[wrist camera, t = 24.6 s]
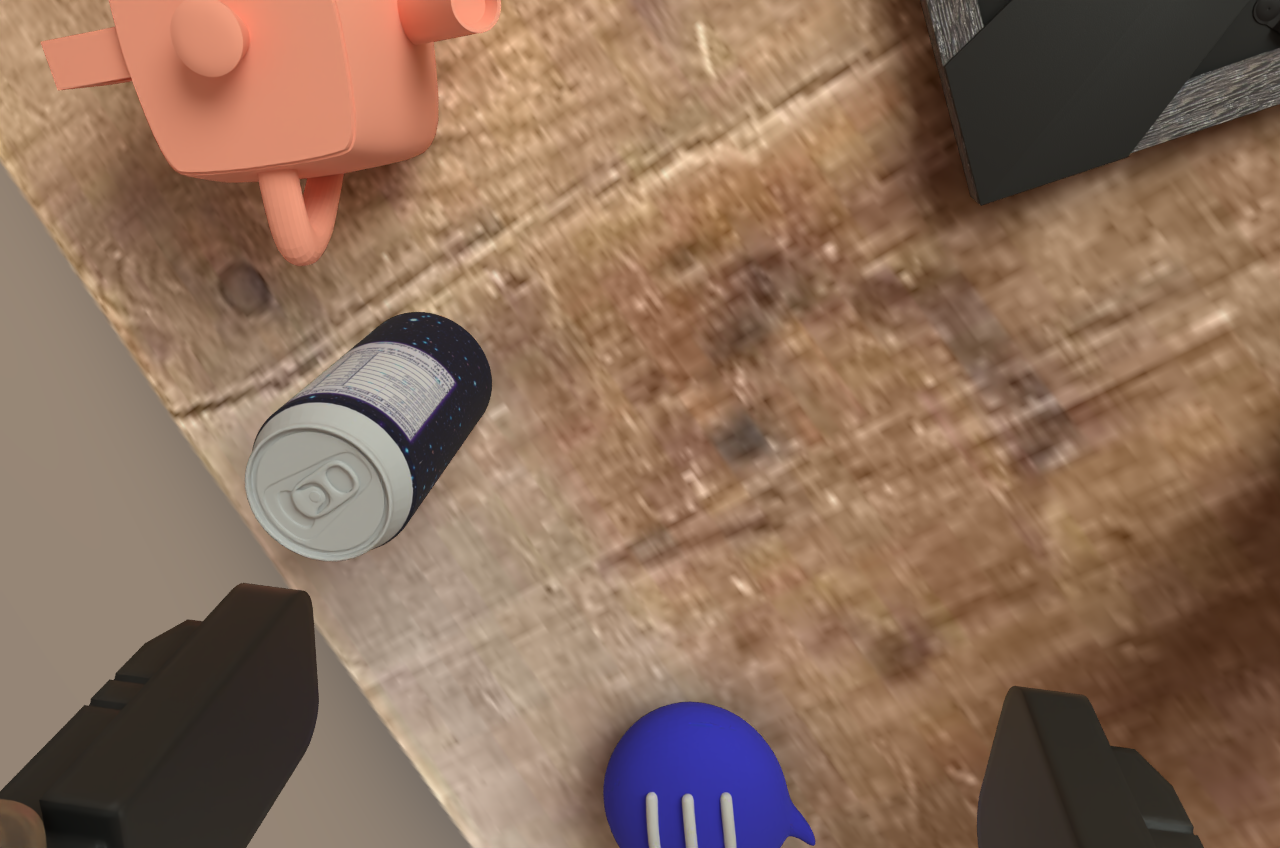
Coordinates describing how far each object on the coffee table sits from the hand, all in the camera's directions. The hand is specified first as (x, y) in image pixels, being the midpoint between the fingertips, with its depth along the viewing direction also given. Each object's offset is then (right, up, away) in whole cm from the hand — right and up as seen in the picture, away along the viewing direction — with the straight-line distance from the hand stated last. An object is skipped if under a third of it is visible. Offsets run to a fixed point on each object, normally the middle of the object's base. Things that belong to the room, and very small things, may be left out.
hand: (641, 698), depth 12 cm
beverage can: (-9, +6, +32) cm, 34 cm away
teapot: (-11, +18, +27) cm, 34 cm away
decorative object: (+4, -13, +38) cm, 41 cm away
